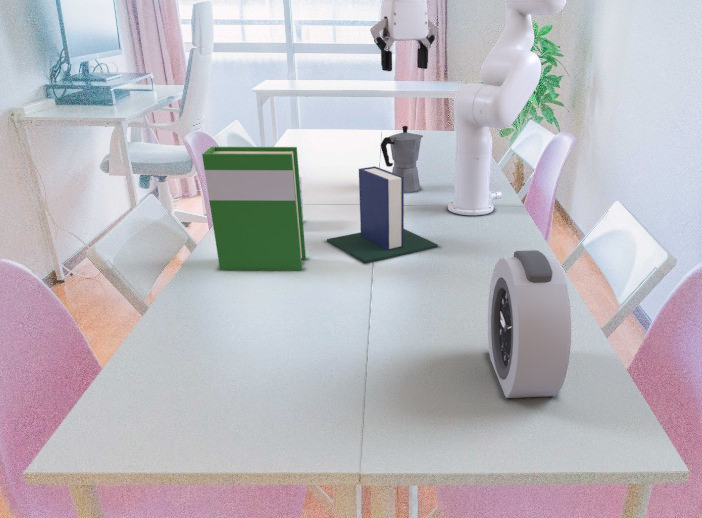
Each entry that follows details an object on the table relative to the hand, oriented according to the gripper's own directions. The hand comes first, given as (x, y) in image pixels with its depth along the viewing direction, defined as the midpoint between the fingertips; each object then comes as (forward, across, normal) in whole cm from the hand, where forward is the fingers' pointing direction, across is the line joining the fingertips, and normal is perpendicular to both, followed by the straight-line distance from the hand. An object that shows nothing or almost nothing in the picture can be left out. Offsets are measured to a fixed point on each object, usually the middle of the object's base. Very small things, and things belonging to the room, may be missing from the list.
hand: (404, 69), depth 150 cm
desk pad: (+36, +12, +8) cm, 39 cm away
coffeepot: (+36, -20, -31) cm, 52 cm away
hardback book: (+36, +41, +5) cm, 55 cm away
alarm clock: (+36, +27, +74) cm, 87 cm away
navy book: (+36, +12, +8) cm, 39 cm away
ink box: (+36, +24, -17) cm, 47 cm away
